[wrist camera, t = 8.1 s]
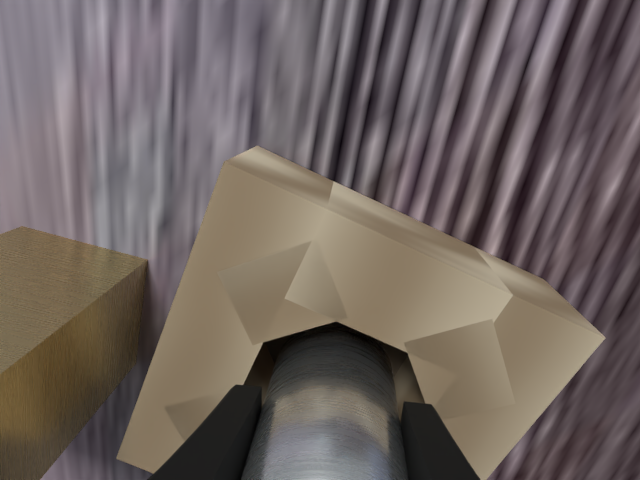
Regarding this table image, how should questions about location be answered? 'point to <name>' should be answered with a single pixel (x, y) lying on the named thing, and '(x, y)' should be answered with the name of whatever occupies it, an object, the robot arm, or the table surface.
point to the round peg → (329, 411)
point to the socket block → (353, 312)
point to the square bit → (60, 341)
